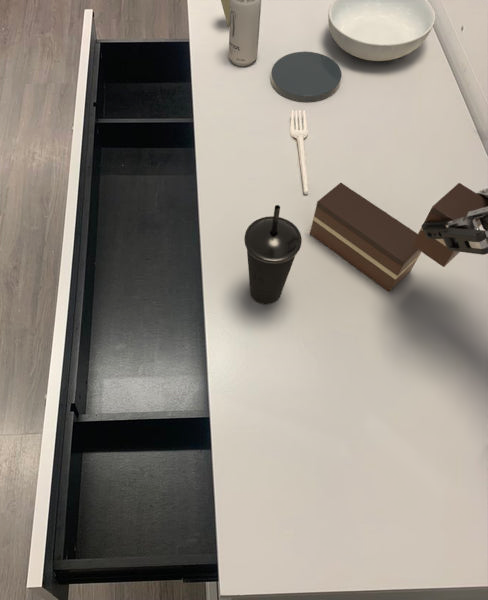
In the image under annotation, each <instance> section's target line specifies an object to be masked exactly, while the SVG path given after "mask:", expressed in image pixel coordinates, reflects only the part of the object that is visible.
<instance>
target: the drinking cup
mask: <svg viewBox="0 0 488 600" xmlns="http://www.w3.org/2000/svg"><path fill="white" fill-rule="evenodd" d="M280 212H281V206H280V205H279V204H276V205H274V210H273V215H271V216H264V217H261V218H258V219H256V220H254V221H253V222H251V224H249V225H248V227H247V228H246V230H245V233H244V236H243V237H244V246H245V249H246V257H247V267H248V268H247V269H248V270H247V271H248V281H249V293H250V296H251V298H252V299H253V300H254V301H255V302H256V303H258V304H260V305H271V304H275V303H276V302H277V301H278V300H279V299H280V298H281V296H280V295H282V293H283V290H284V288H285V285H286V282H287V280H288V276H289V274H290V271H291V269H292V266H293V263H294V261H295V259H296V256H297V255H298V253H299V252H300V249H301V247H302V242H303V240H302V234H301V231H300V230H299V228H298V227H297V226H296V225H295V224H294V223H293V222H292V221H290V220H288V219H286V218H283V217H280Z"/></svg>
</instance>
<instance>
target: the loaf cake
mask: <svg viewBox="0 0 488 600" xmlns="http://www.w3.org/2000/svg"><path fill="white" fill-rule="evenodd" d="M309 230H310V231H309V234H310V235H311V236H312V237H314V238H315V239H317V240H318V241H319V242H321V243H322V244H323V245H324V246H326V247H328V248H329V249H330V250H331V251H333V252H334V253H335V254H337V255H338V256H340V257H341V258H342V259H343V260H344V261H346V262H348V263H349V264H350V265H352V267H354V268H356V269H357V270H358V271H360V272H361V273H363V274H364V275H365V276H366V277H368V278H369V279H371V280H372V281H373V282H374V283H376V284H377V285H379V286H380V287H381V288H382V289H384V290H385V291H387V292H388V293H390V292H391V291H392V290H393V289H394V288H395V287H396V286H397V285H398V284H399V283H400V282H401V281H402V280H403V279H404V278H405V277H406V276H407V275H409V273H410V272H411V271H412V269H413V268H414V266H415V264H416V262H417V261H418V259H419V257H420V255H421V253H422V252H421V251H420V250H418V249H417V248H415V247H414V246H413V243H414V241H415V239H416V237H417V235H418V232H416V231H414V230H413V229H412V228H410V227H408V226H407V225H405V224H404V223H402V222H401V221H400V220H398V219H397V218H395V217H394V216H392V215H390V214H389V213H387V212H386V211H384V210H383V209H382V208H380V207H378V206H377V205H375V204H374V203H372V202H371V201H369V200H368V199H367V198H365V197H363V196H361V194H359V193H357V192H356V191H355V190H353V189H351V188H350V187H348V186H347V185H346V184H344V183H343V182H340V183H338V184H337V185H335V186H334V187H333V188H332V189H331V190H330V191H328V192H327V193H325V195H323V196H322V197H320V199H318V200H317V201H316V206H315V210H314V214H313V218H312V223H311V226H310V229H309Z"/></svg>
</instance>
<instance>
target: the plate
mask: <svg viewBox="0 0 488 600" xmlns="http://www.w3.org/2000/svg"><path fill="white" fill-rule="evenodd" d="M270 73H271V74H270V82H271V85H272V87H273V89H274V90H275V91H276V92H277V93H278V94H279V95H280V96H282V97H284V98H286V99H288V100H291V101H294V102H300V103H313V102H319V101H323V100H326V99H328V98H330V97H331V96H333V95H334V94H335V93H336V92H337V91H338V89H339V87H340V85H341V81H342V77H343V76H342V74H343V73H342V70H341V67H340V66H339V65H338V63H337V62H336V61H335V60H333V59H332V58H331V57H329V56H328V55H324V54H322V53H319V52H314V51H296V52H292V53H288V54H285V55H284V56H282V57H280V58H278V60H277V61H275V63H274V64H273V65H272V68H271V72H270Z"/></svg>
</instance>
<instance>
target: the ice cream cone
mask: <svg viewBox="0 0 488 600" xmlns="http://www.w3.org/2000/svg"><path fill="white" fill-rule="evenodd" d="M220 2H221V7H222V10H223V14H224V17H225V22H226V26H227V28H229V23H230V0H220Z"/></svg>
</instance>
